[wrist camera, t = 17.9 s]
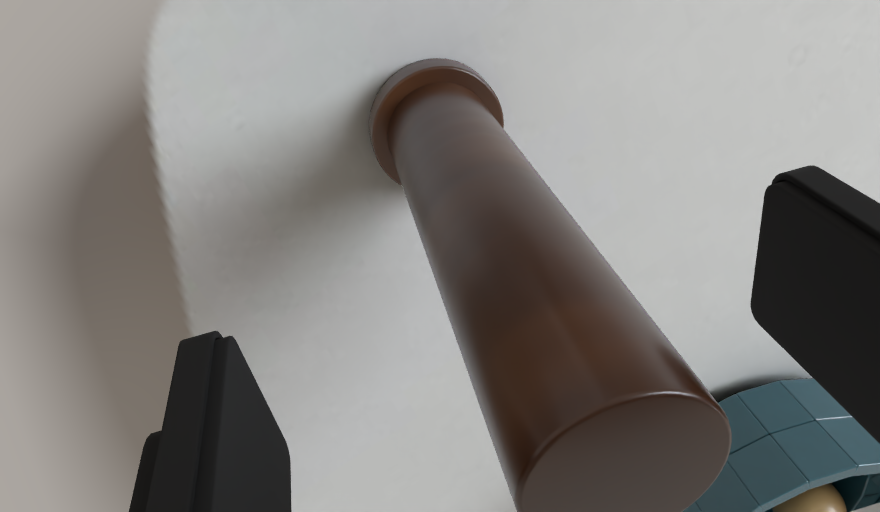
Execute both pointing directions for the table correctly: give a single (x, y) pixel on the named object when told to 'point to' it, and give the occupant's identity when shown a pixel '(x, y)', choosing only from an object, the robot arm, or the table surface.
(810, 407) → the bowl
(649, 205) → the table surface
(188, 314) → the table surface
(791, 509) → the bead
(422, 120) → the brown flanged cylinder
